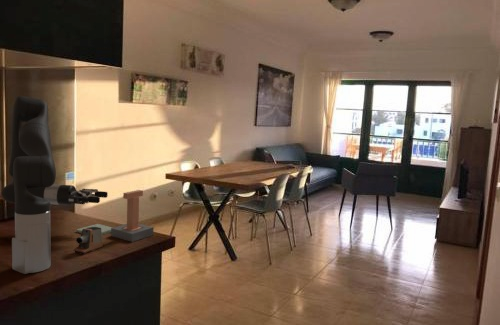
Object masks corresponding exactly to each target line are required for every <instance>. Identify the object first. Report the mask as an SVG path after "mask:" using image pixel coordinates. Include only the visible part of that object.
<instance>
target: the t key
mask: <svg viewBox="0 0 500 325" xmlns="http://www.w3.org/2000/svg"><path fill="white" fill-rule="evenodd" d="M122 194H123V196H122V198H123V199H125V200H126V202H127V203H126V206H127V207H126V224H127V227H125V228H123V229H126V230H130V231H135V230H138V229H141V228H142V227H138V224H139V221H140V220H139V215H140V214H139V212H140V207H139V206H140V197H143V196H144V190H141V189H136V190H132V191H126V192H123V193H122Z"/></svg>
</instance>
